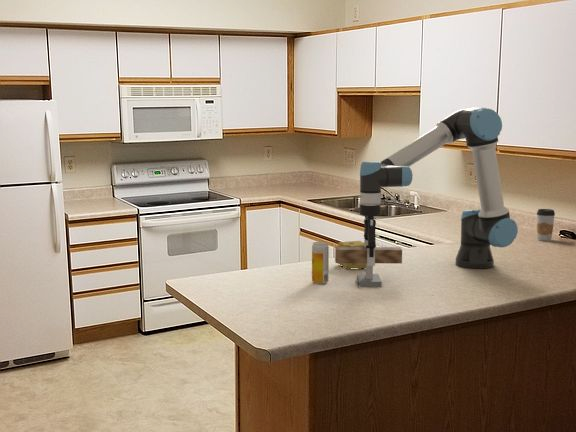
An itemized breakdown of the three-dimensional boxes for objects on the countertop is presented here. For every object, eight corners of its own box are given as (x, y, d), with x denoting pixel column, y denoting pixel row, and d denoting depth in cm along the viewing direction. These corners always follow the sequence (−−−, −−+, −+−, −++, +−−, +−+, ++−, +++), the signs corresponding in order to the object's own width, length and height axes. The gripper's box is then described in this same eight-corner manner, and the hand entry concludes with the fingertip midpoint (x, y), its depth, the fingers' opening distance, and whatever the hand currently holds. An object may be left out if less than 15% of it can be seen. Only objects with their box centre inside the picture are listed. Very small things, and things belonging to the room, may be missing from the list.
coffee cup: (534, 241, 333) (535, 210, 331) (536, 238, 341) (538, 208, 338) (552, 242, 329) (554, 211, 327) (554, 239, 337) (556, 209, 334)
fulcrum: (378, 279, 259) (378, 258, 257) (381, 287, 247) (381, 265, 246) (357, 279, 259) (357, 258, 258) (359, 287, 247) (359, 265, 246)
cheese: (345, 270, 273) (346, 245, 272) (336, 264, 283) (337, 241, 282) (370, 268, 276) (370, 244, 274) (360, 263, 286) (360, 239, 285)
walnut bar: (400, 260, 254) (400, 247, 253) (401, 263, 249) (402, 249, 248) (335, 260, 254) (335, 247, 254) (335, 263, 249) (335, 249, 249)
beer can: (318, 280, 258) (318, 240, 255) (331, 282, 254) (331, 242, 251) (308, 283, 253) (308, 243, 251) (321, 285, 249) (322, 245, 247)
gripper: (357, 199, 261) (356, 254, 264) (362, 208, 236) (361, 269, 239) (377, 199, 261) (376, 254, 264) (384, 208, 236) (383, 269, 239)
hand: (369, 261), depth 252 cm, fingers open, 13 cm apart
